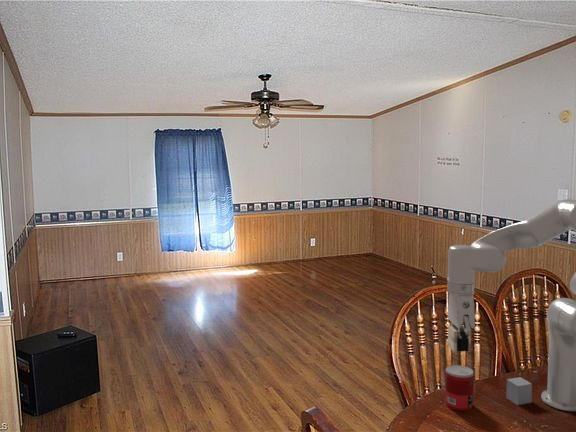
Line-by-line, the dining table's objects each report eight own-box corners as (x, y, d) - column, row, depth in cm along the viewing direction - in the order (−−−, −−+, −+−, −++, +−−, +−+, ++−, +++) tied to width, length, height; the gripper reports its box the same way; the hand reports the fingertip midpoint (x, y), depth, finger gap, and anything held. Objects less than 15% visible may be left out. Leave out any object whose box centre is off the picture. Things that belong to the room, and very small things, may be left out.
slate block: (519, 395, 163) (520, 377, 162) (531, 402, 158) (532, 383, 157) (506, 397, 161) (506, 379, 161) (517, 405, 157) (517, 386, 156)
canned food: (474, 412, 153) (475, 376, 152) (446, 410, 154) (446, 374, 153) (471, 400, 160) (471, 365, 159) (444, 398, 162) (444, 364, 161)
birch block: (464, 345, 158) (464, 325, 157) (470, 351, 153) (470, 331, 152) (447, 345, 158) (448, 326, 157) (453, 351, 153) (453, 331, 152)
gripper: (484, 295, 145) (482, 358, 147) (463, 280, 162) (461, 337, 164) (457, 295, 145) (456, 358, 147) (439, 280, 162) (437, 337, 164)
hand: (459, 346), depth 155 cm, fingers closed on birch block, 5 cm apart
